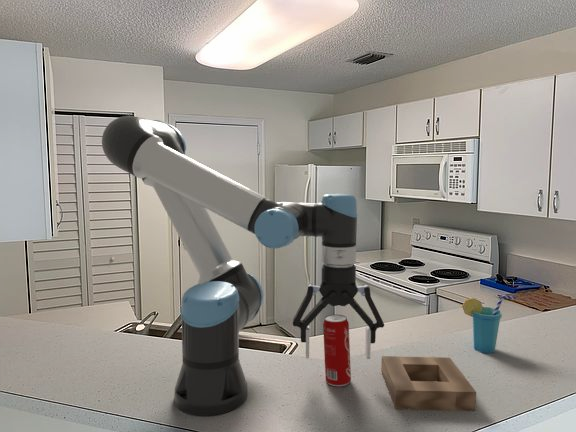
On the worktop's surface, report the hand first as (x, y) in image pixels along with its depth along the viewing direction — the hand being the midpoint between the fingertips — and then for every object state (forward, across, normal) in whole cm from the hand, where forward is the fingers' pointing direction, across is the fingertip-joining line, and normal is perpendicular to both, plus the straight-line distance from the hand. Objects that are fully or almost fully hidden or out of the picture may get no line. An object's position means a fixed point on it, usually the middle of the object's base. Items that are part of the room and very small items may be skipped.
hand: (337, 356), depth 99 cm
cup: (+6, +42, +20) cm, 47 cm away
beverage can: (+6, 0, 0) cm, 6 cm away
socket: (+6, +19, -3) cm, 20 cm away
